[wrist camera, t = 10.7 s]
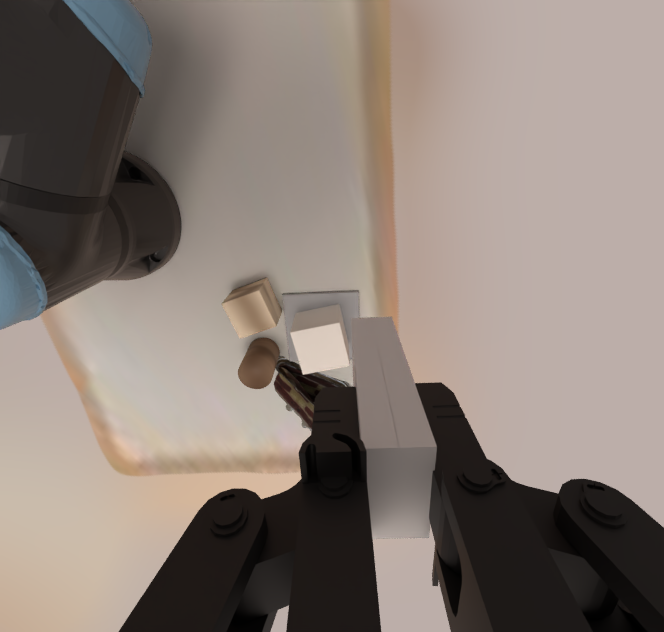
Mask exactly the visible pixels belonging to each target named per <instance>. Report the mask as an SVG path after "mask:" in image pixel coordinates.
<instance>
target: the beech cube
mask: <svg viewBox="0 0 664 632" xmlns="http://www.w3.org/2000/svg"><path fill="white" fill-rule="evenodd" d="M222 306H223V308H224V310H225V312H226V313H227V315H228V317H229V319H230V321H231V323H232V325H233V327H234V328H235V330H236V332H237V334H238V336H239V338H240V339H241V338H244V337H247V336H250V335H252V334H255V333H258V332H261V331H264V330H267V329H270V328H273V327H276V326H277V323H278V321H279V318H280V315H281V313H282V309H281V307H280V305H279V303H278V301H277V299H276V297H275V294H274V292H273V290H272V288H271V286H270V284H269V282H268V279H267V278H265V279H262V280H259V281H257V282H254V283H251V284H249V285H246V286H243V287H240V288H238V289H235V290H233V291H232V292H231V293H230V294H229V295H228V297H227V298H226V299H225V300H224V301H223V303H222Z"/></svg>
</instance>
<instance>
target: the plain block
mask: <svg viewBox="0 0 664 632" xmlns="http://www.w3.org/2000/svg"><path fill="white" fill-rule="evenodd" d="M290 334H291V337H292V341H293V344H294V347H295V350H296V354H297V357H298V360H299V363H300V367H301V370H302V373H303V375H304V374H309V373H315V372H320V371H325V370H331V369H336V368H341V367H347V366H350V359H349V343H348V339H347V334H346V330H345V326H344V322H343V317H342V313H341V309H340V305H339V304H336V305H332V306H327V307H322V308H317V309H312V310H307V311H303V312H298V313H295V317H294V320H293V324H292V328H291V331H290Z"/></svg>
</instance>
